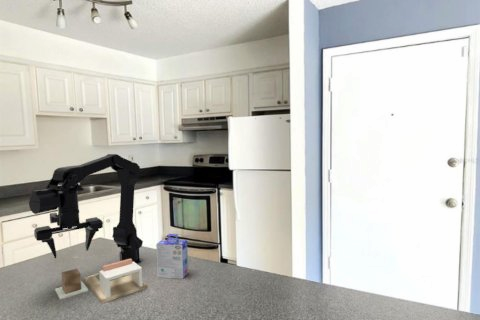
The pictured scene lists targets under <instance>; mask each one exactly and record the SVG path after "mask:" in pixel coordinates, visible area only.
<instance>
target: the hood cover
mask: <svg viewBox="0 0 480 320" xmlns="http://www.w3.org/2000/svg"><path fill="white" fill-rule="evenodd" d="M98 273H99V277H100V290H101V291H102V292H103V293H104V295H105V296H106V297H107V298H109V297H111V293H110V280H112V279H115V278H118V277H122V276H125V275H128V274H131V280H132V281H134V282H135V283H136V284H137V285H138V286H139V287H141V286H143V282H144V281H143V267H142V266H141V265H139V264H138V263H135V262H132V259H131V258H130V259H127V260H123V261H120V260H119V261H116V262H112V263H109V264H105V265H102V269H101V270H99V271H98Z"/></svg>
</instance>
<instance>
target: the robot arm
mask: <svg viewBox="0 0 480 320" xmlns="http://www.w3.org/2000/svg"><path fill="white" fill-rule="evenodd" d="M109 168H111V170H113V171H115V172H116V177H117V180H118V182H119V184H120V198H119V199H120V201H119V203H120V204H119V220H118V221H119V222H118V223H117V225H116V226H113V227H112V236H111V238H113V242H114V243H115V245H116V246H117V248H120V251H119V252H118V253H119V261H123V260H127V259H130V258H131V259H132V262H135V263H136V264H139V263H141V262H142V260H141V259H140V258H141V257H140V248H141V247H143V243H144V241H143V240H142V239H141V238H140V237H138V233H137V232H138V231H137V227H136V225H135V223H134V205H135V204H134V203H135V185H136V183H137V182H138V181H139V178H140V174H141V167H140V165H139V164H138V163H137V162H133V161H132V160H128V159H126V158H124V157H122V156H121V155H119V154H118V153H108V154H106V155H104V156H101V157H99V158H96V159H93V160H90V161H87V162H85V163H81V164H79V165H71V166H69V165H68V166H62V167H57V168H56V169H55V170H53V173H52V177H51V178H50V180H49V182H48V183H47V185H46V187H45V189H35V190H33V191H32V195H31V196H30V197H29V201H28V207H29V210H30V211H31V213H32V214H34V215H38V214H43V213H46V212H50V211H56V210H57V212H51V213H49V223H50V224H56V225H57V226H56V227H51V226H49V225H45V226H39V227H36V228H35V229H34V230H33V232H34V233H33V234H34V235H33V236H34V238H35V240H36V241H37V242H39V241H41V243H46V244H47V245H48V247H49V249H50V251H51V253H52V255H53V258H54V259H57V250H56V245H55V239H54V238H53V235H56V234H61V233H66V232H71V231H76V230H80V229H84V231H85V243H84V244H85V245H84V247H85V250H86V251H89V249H90V246H91V244H92V241H93V239H94V237H95V235H96V233H97V232H99V231H100V230H99V229H102V228H103V227H104V224H103V223H104V222H103V220H102V219H100V218H98V217H96V216H95V217H90V218H86V219H85V221H84V222H80V209H79V208H80V207H79V196H78V195H79V194H78V193H79V192H82V191H85V188H84V187H82V186H81V185H80V183H81V182H83V181H84V180H85V179H86V178H87V177H89V176H91V175H93V174H95V173H98V172H101V171H104V170H105V169H106V170H107V169H109Z"/></svg>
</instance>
